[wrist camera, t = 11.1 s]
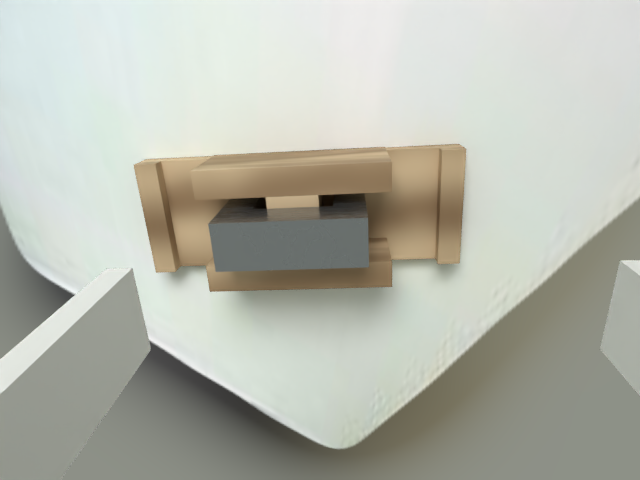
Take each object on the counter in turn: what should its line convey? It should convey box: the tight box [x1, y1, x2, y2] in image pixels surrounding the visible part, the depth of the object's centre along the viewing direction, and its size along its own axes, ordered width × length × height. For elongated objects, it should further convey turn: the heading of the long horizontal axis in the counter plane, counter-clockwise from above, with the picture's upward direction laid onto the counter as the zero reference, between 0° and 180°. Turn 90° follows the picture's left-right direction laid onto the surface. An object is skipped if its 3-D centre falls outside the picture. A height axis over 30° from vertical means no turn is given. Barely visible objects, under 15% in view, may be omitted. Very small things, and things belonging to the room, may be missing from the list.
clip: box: [208, 193, 369, 272], centre depth 28 cm, size 3×9×6 cm, turn 93°
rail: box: [134, 144, 466, 292], centre depth 30 cm, size 8×22×5 cm, turn 93°
